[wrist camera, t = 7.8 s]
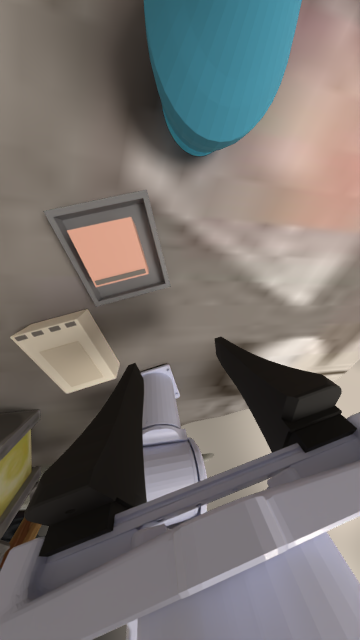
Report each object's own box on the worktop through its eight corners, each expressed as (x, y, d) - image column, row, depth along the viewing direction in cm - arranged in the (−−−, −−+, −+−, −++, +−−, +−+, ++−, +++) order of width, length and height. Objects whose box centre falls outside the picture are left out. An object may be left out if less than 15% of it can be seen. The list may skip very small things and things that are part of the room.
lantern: (29, 383, 31) (31, 503, 33) (-106, 470, 14) (-85, 700, 16) (69, 380, 32) (68, 495, 35) (-9, 456, 16) (-2, 664, 18)
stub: (148, 269, 17) (148, 274, 13) (107, 279, 16) (95, 287, 13) (135, 225, 14) (130, 216, 11) (87, 235, 14) (66, 230, 10)
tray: (168, 283, 18) (170, 286, 17) (101, 301, 18) (96, 306, 16) (146, 197, 14) (146, 189, 12) (56, 216, 13) (43, 211, 12)
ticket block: (119, 363, 22) (115, 378, 20) (76, 376, 22) (66, 394, 19) (87, 308, 18) (76, 319, 15) (31, 324, 17) (9, 337, 14)
